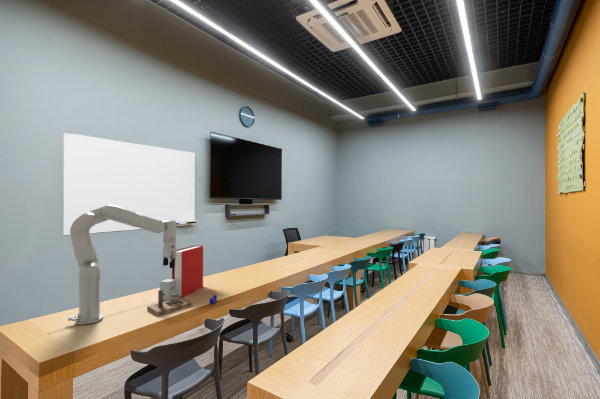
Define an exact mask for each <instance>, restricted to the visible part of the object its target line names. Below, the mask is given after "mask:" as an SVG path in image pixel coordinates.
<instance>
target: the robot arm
mask: <svg viewBox="0 0 600 399" xmlns="http://www.w3.org/2000/svg"><path fill="white" fill-rule="evenodd" d="M109 220H110V221H113V222H117V223H120V224H123V225H126V226H130V227H134V228H138V229H142V230H145V231H149V232H152V233H155V234H161V233H162V232H163V233H162V242H163V246H162V261H163V262H162V266H165V267H166V266H169V269H172V268H175V259H176V250H177V244H176V242H177V221H176V220H174V219H173V220H172V219H171V220H170V219H169V220H168V219H167V220H160V219H159V220H158V219H155V218H152V217H150V216H149V217H148V216H146V215H143V214H141V213H138V212H136V211H133V210H130V209H128V208H127V209H126V208H123V207H120V206H117V205H114V204H107V205H104V206H102V207H98V208H95V209H93V210H90V211H87V212H84V213H82V214H81V215H80V216H78V217H77V218H76V219H75V220H73V222H72V223H71V226H70V228H69V232H70V234H69V235H70V240H71V244H72V247H73V248H72V249H73V252H74V253H73V254H74V257H75V259H76V263H77V265H78V269H79V270H78V313H76V315H75V316H69V317H67V322H75V324H76V325H90V324H94V323H97V322H100V321H101V320H103V318H104V315H103V314H101V298H100V297H101V290H100V288H101V268H100V267H101V266H100V263H99V259H98V256H97V252H96V248H95V246H94V245H93V242H92V238H91V233H90V230H91V228H93V227H94V226H96V225H98V224H101V223H103V222H106V221H109Z"/></svg>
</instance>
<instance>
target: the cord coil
mask: <svg viewBox="0 0 600 399" xmlns="http://www.w3.org/2000/svg"><path fill="white" fill-rule="evenodd" d="M179 298H180V296H179V294H178V293H174V294H171V305H170V306H171V307H172V306H175V305H179V304H180V303H179Z"/></svg>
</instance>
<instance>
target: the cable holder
mask: <svg viewBox="0 0 600 399" xmlns="http://www.w3.org/2000/svg"><path fill="white" fill-rule="evenodd" d="M217 298H218V296H217V294H213V295H212V296H211V297H210V298H209V305H214V304H215V303H216V301H217V300H218V299H217Z"/></svg>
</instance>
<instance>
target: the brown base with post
mask: <svg viewBox="0 0 600 399" xmlns="http://www.w3.org/2000/svg"><path fill="white" fill-rule="evenodd" d="M157 292H158V293H157V295H158V297H157V298H158V302H157V303H154V304H151V305H147V306H146V308H147V311H148V312H149V313H151V314H152V315H154V316H156V317H159V316H163V315H166V314H170V313H174V312H176V311H179V310H182V309H186V308H190V307H193V302H192V301H191V300H188V299H187V298H184V297H179V305H175V306H172V307H171V300H169V301H164V300H163V295H165V293H163V290H160V289H158V291H157Z"/></svg>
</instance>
